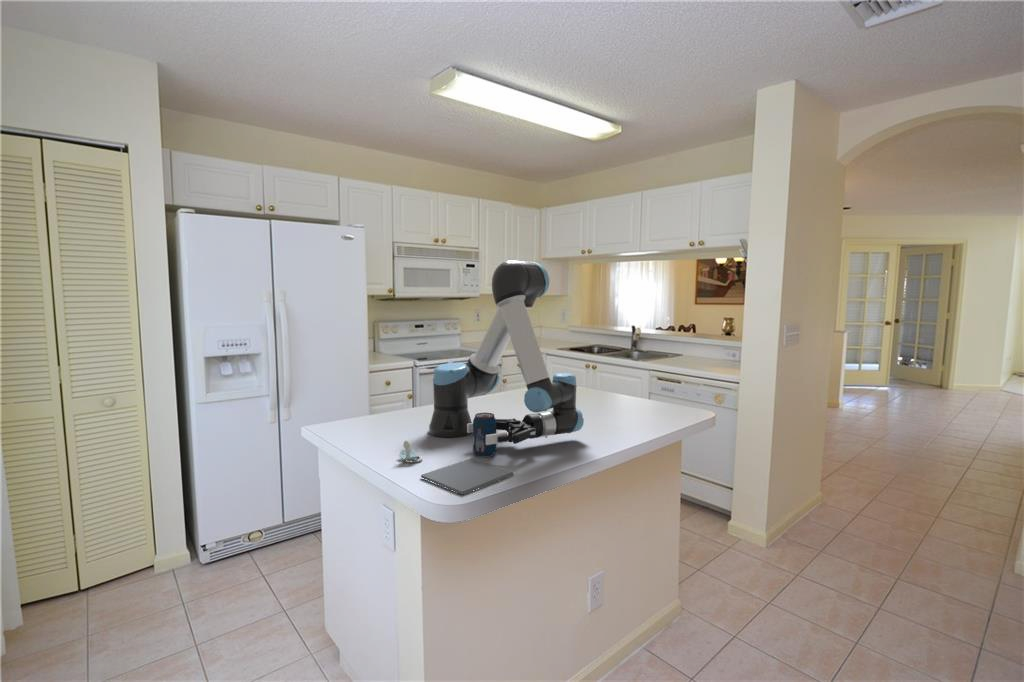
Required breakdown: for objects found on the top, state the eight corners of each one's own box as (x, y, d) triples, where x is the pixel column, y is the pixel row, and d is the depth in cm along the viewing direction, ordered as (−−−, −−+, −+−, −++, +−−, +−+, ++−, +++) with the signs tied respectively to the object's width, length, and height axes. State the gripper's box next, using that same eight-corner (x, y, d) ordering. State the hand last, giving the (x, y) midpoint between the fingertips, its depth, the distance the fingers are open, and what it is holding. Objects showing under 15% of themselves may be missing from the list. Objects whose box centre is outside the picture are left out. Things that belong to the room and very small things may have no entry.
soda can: (494, 449, 151) (494, 411, 150) (497, 457, 144) (497, 417, 143) (472, 451, 150) (471, 412, 149) (474, 458, 143) (474, 418, 142)
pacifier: (417, 455, 147) (397, 458, 144) (417, 435, 146) (397, 437, 143) (425, 463, 140) (405, 466, 137) (426, 441, 140) (405, 444, 137)
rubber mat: (421, 478, 128) (421, 474, 127) (472, 461, 141) (472, 457, 141) (462, 495, 117) (462, 491, 117) (513, 475, 130) (513, 471, 130)
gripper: (560, 447, 144) (494, 458, 135) (519, 427, 166) (460, 435, 157) (560, 422, 144) (494, 432, 134) (519, 405, 166) (460, 412, 156)
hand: (476, 434), depth 145 cm, fingers open, 13 cm apart
